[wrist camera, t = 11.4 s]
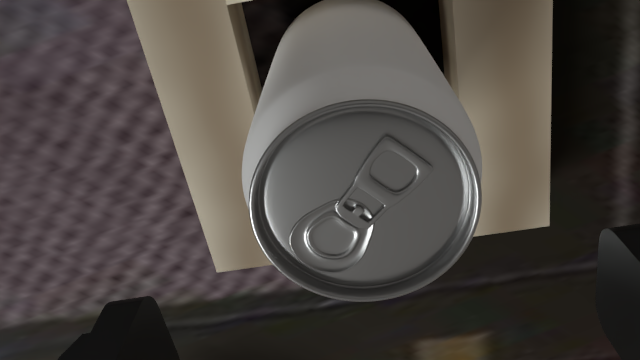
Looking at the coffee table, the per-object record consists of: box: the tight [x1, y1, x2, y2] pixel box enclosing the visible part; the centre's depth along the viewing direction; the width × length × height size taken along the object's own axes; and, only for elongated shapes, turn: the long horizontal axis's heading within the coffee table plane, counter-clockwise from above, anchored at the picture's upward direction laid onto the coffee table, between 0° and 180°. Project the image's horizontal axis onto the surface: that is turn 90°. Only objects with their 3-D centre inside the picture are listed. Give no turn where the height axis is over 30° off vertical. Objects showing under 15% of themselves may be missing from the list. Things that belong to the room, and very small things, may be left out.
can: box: [242, 0, 482, 302], centre depth 18 cm, size 6×6×12 cm
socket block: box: [127, 0, 553, 272], centre depth 22 cm, size 15×15×3 cm
